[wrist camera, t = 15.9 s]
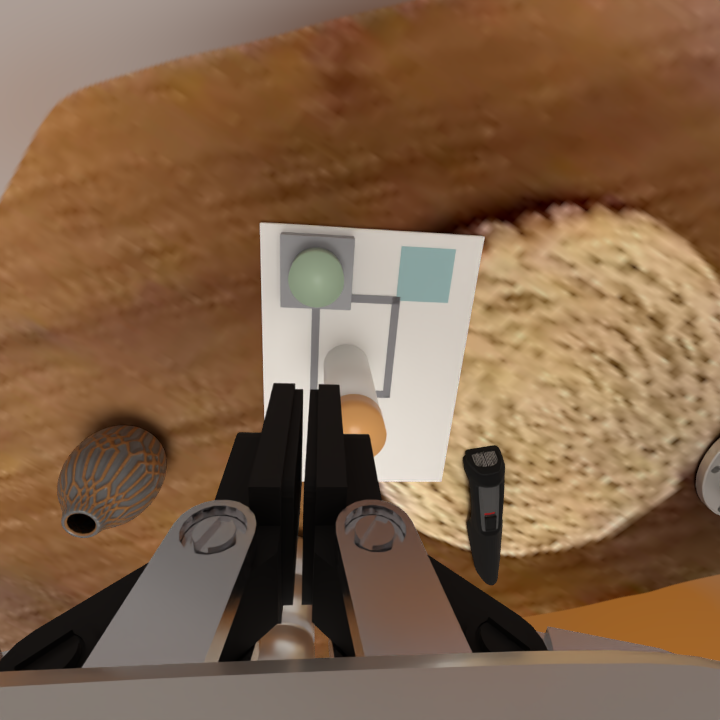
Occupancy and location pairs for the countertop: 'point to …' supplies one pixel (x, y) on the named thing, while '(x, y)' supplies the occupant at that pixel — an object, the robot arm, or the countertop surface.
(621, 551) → the countertop surface
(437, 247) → the sheet
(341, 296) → the button housing
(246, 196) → the countertop surface
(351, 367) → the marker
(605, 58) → the countertop surface
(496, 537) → the electric trimmer
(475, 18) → the countertop surface
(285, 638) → the plastic bottle
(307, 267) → the button
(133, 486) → the vase
